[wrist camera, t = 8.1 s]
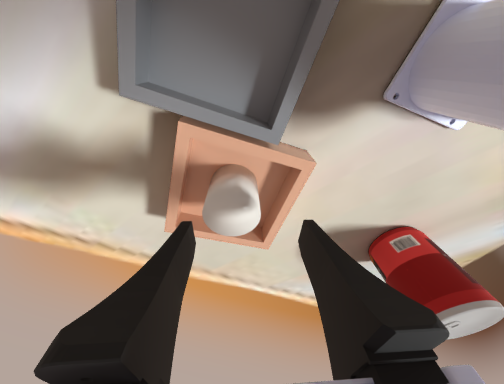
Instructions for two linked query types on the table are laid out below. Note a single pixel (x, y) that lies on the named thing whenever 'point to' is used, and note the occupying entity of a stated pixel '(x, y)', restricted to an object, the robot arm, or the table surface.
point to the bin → (221, 58)
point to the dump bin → (241, 153)
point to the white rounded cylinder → (232, 201)
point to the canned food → (434, 281)
